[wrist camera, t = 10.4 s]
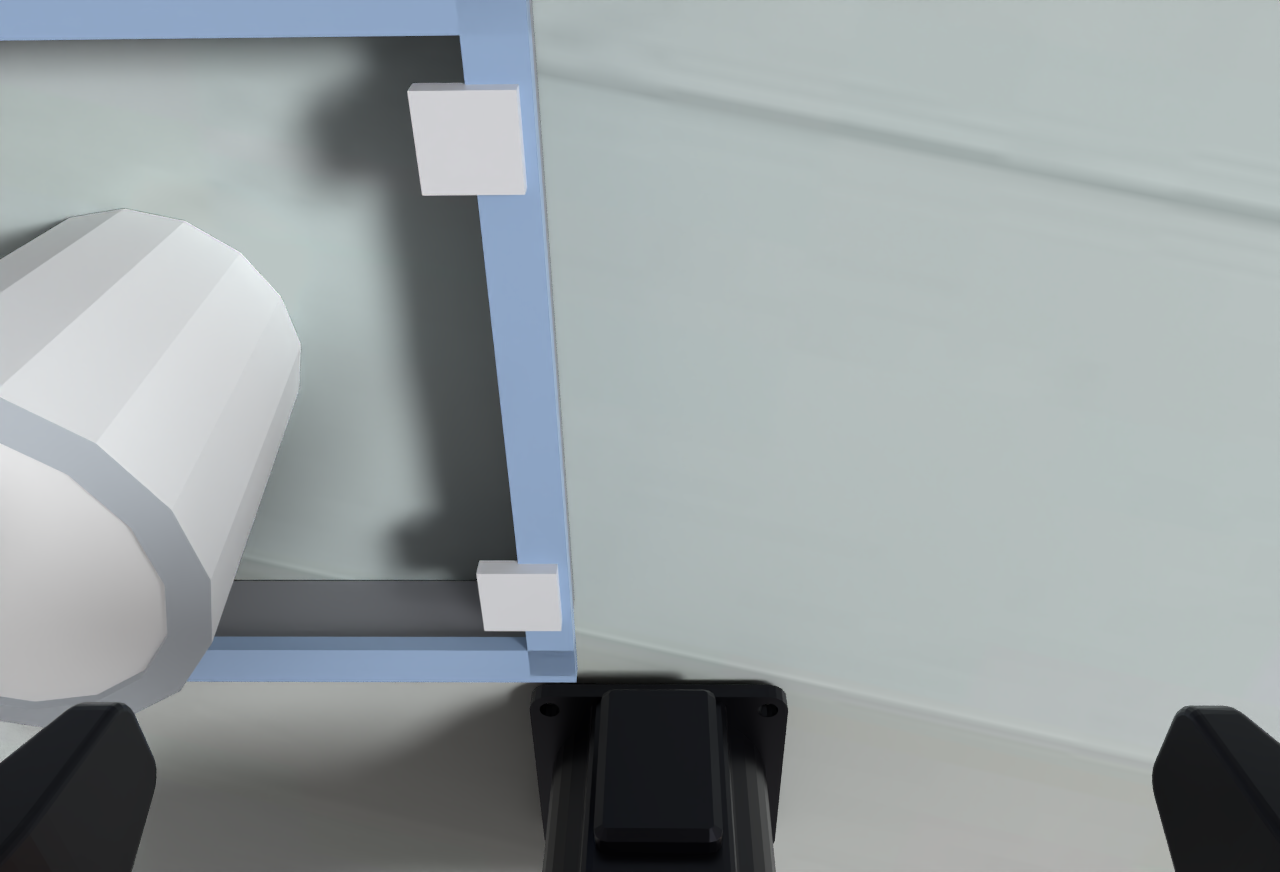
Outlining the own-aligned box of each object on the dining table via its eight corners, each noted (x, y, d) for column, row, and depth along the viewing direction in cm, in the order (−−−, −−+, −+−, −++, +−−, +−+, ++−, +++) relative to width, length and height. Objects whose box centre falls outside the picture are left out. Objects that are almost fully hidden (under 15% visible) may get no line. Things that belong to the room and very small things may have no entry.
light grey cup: (291, 515, 23) (171, 778, 17) (-31, 411, 22) (-278, 661, 16) (373, 262, 20) (256, 487, 14) (-7, 115, 18) (-316, 300, 12)
